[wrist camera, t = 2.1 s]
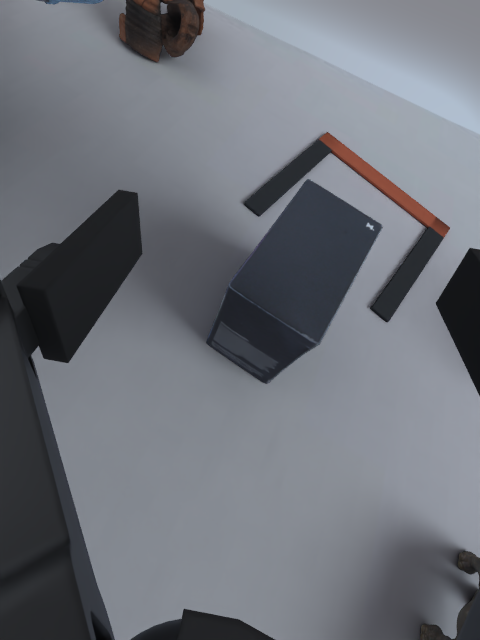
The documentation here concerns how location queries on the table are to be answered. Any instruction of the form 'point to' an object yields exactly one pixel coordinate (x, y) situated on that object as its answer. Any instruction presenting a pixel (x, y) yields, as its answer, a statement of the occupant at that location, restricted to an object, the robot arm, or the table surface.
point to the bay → (435, 226)
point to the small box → (293, 283)
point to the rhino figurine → (433, 634)
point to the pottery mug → (161, 26)
